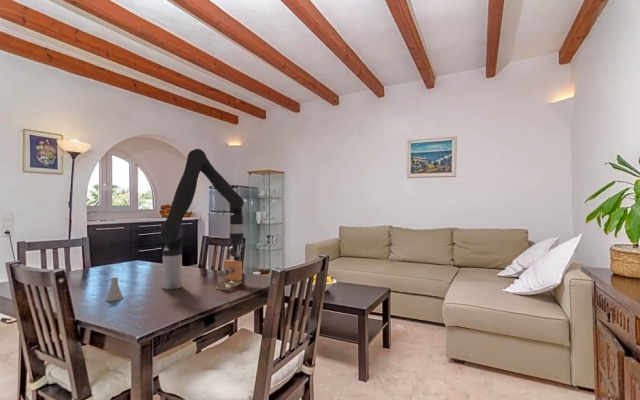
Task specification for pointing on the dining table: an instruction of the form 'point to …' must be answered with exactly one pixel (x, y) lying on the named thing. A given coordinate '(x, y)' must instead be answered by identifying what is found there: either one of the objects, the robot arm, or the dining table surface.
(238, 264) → the orange square plate
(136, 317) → the dining table surface
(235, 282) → the pipe stand
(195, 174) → the robot arm
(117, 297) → the flask
